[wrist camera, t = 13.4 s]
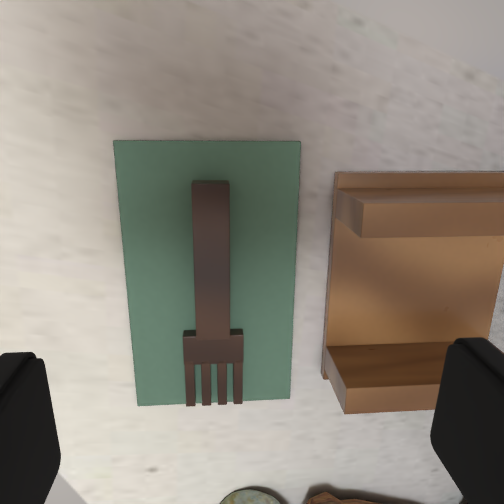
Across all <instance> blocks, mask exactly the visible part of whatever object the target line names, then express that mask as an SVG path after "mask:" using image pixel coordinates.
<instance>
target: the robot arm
mask: <svg viewBox="0 0 504 504" xmlns="http://www.w3.org/2000/svg"><path fill="white" fill-rule="evenodd" d="M430 438H431V444H432V446H433V449H434V451H435V452H436V454H437V455H438V457H439V459H440V460H441V462H442V463H443V465H444V466H445V468H446V470H447V471H448V473H449V474H450V476H451V477H452V479H453V480H454V482H455V484H456V485H457V487H458V488H459V490H460V491H461V493H462V495H463V496H464V498H465V499H466V501H467V502H468V504H504V354H503V353H502V352H501V351H500V350H498V349H497V348H496V347H495V346H494V345H493V344H491V343H490V342H489V341H488V340H487V339H485V338H483V337H470V338H457V339H456V340H455V341H454V343H453V344H451V345H449V346H448V348H447V352H446V357H445V362H444V367H443V372H442V377H441V382H440V387H439V392H438V397H437V403H436V408H435V413H434V418H433V423H432V428H431V434H430ZM60 460H61V453H60V447H59V441H58V436H57V430H56V424H55V419H54V413H53V408H52V402H51V396H50V391H49V385H48V380H47V374H46V368H45V364H44V361H43V359H41V358H36V356H35V354H34V353H32V352H17V353H3V354H2V355H1V356H0V504H44V503H45V500H46V498H47V495H48V493H49V491H50V489H51V487H52V484H53V482H54V479H55V477H56V475H57V473H58V470H59V466H60Z"/></svg>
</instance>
